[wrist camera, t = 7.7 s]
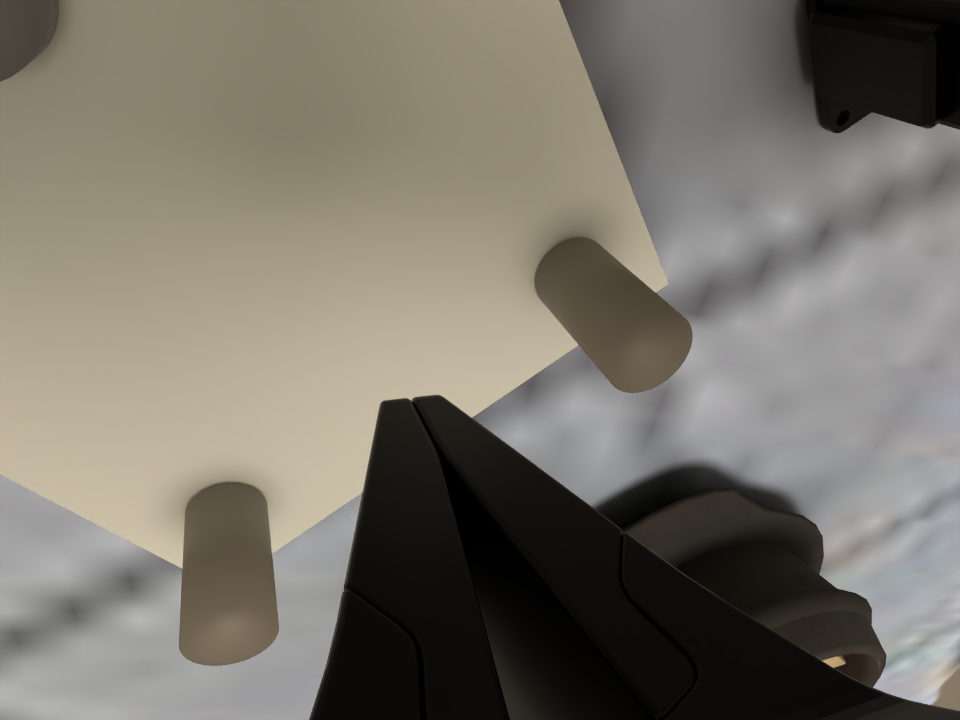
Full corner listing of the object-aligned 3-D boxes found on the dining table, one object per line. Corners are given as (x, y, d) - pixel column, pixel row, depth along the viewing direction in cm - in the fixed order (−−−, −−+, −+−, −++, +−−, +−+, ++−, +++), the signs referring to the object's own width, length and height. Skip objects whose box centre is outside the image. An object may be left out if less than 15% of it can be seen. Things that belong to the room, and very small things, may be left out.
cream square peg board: (300, -548, 10) (384, -983, 5) (636, 257, 22) (760, 358, 17) (-526, 110, 11) (-1117, 269, 6) (220, 543, 23) (222, 717, 18)
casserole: (436, 610, 30) (497, 798, 24) (759, 392, 29) (914, 528, 23) (610, 726, 46) (674, 858, 40) (823, 589, 45) (924, 701, 39)
